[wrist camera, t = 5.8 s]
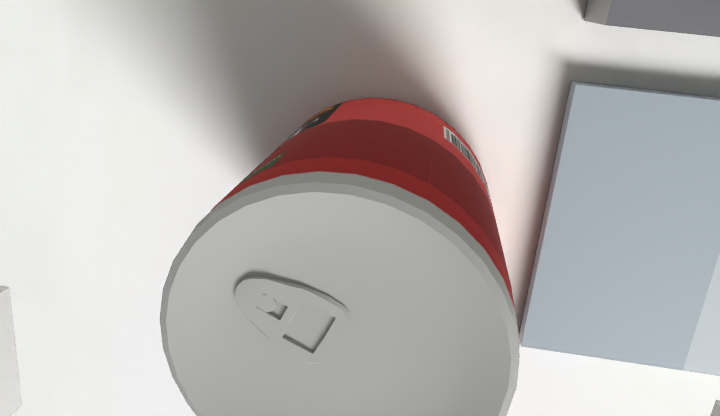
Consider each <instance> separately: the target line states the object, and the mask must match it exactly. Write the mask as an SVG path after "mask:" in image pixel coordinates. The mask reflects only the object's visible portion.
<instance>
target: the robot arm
mask: <svg viewBox="0 0 720 416" xmlns="http://www.w3.org/2000/svg"><path fill="white" fill-rule="evenodd" d="M20 406H22V401H21V392H20V383H19V373H18V364H17V354H16V345H15V336H14V326H13V317H12V308H11V298H10V289H9V287H6V286H0V416H11V415H12V414H13V413H14V412H15V411H16V410H17V409H18V408H19V407H20ZM711 416H720V401H719V400H716V402H715V404H714V407H713V410H712V413H711Z"/></svg>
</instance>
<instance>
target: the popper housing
mask: <svg viewBox="0 0 720 416" xmlns="http://www.w3.org/2000/svg"><path fill="white" fill-rule="evenodd" d="M584 21H589V22H594V23H598V24H603V25H610V26H619V27H629V28H639V29H648V30H658V31H668V32H678V33H687V34H697V35H707V36H716V37H720V0H588V3H587V8H586V13H585V18H584Z"/></svg>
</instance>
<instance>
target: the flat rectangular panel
mask: <svg viewBox="0 0 720 416" xmlns="http://www.w3.org/2000/svg"><path fill="white" fill-rule="evenodd" d="M519 339H520V343H521V346H523V347H529V348H536V349H543V350H550V351H556V352H563V353H570V354H576V355H583V356H590V357H597V358H603V359H610V360H617V361H623V362H630V363H637V364H644V365H650V366H657V367H664V368H670V369H677V370H684V371H690V372H697V373H704V374H711V375H717V376H720V98H718V97H709V96H700V95H691V94H682V93H673V92H664V91H655V90H646V89H637V88H628V87H619V86H610V85H601V84H592V83H583V82H574V81H571V85H570V90H569V95H568V100H567V105H566V109H565V114H564V119H563V124H562V129H561V134H560V138H559V143H558V148H557V153H556V158H555V163H554V168H553V172H552V177H551V182H550V187H549V192H548V197H547V201H546V206H545V211H544V216H543V221H542V226H541V230H540V235H539V240H538V245H537V250H536V255H535V259H534V264H533V269H532V274H531V279H530V284H529V289H528V293H527V298H526V303H525V308H524V313H523V318H522V322H521V327H520V332H519Z"/></svg>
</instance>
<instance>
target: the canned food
mask: <svg viewBox="0 0 720 416" xmlns="http://www.w3.org/2000/svg"><path fill="white" fill-rule="evenodd" d="M160 324H161V333H162V342H163V349H164V352H165V355H166V358H167V361H168V364H169V367H170V370H171V373H172V376H173V378H174V380H175V382H176V384H177V386H178V387H179V389H180V391H181V393H182V395H183V396H184V398H185V400H186V402H187V404H188V405H189V406H190V407H191V409H192V410H193V411H194V412H195V414H196V415H197V416H506V415H507V412H508V409H509V406H510V404H511V401H512V398H513V395H514V392H515V390H516V386H517V376H518V366H519V357H520V356H519V344H520V341H519V333H518V326H517V318H516V311H515V306H514V302H513V296H512V288H511V284H510V280H509V275H508V271H507V267H506V263H505V258H504V254H503V250H502V246H501V241H500V237H499V233H498V229H497V225H496V220H495V216H494V212H493V208H492V203H491V199H490V195H489V191H488V186H487V182H486V180H485V177H484V174H483V171H482V169H481V166H480V163H479V161H478V160H477V158H476V156H475V155H474V153H473V152H472V150H471V148H470V147H469V145H468V144H467V143H466V142H465V140H464V139H463V138H462V137H461V136H460V135H459V134H458V133H457V132H456V131H455V130H454V129H453V128H452V127H451V126H449V125H448V124H447V123H445V122H444V121H443V120H441V119H440V118H439V117H437V116H436V115H434V114H432V113H430V112H428V111H426V110H424V109H422V108H419V107H417V106H415V105H412V104H408V103H404V102H401V101H397V100H393V99H379V98H366V99H358V100H350V101H346V102H343V103H340V104H337V105H335V106H332V107H329V108H327V109H325V110H323V111H322V112H320V113H318V114H317V115H315V116H313V117H312V118H310V119H309V120H308V121H307V122H306V123H305V124H304V125H303V126H301V127H300V128H299V129H298V130H297V131H296V132H295V133H294V134H293V135H292V136H291V137H289V138H288V139H287V140H286V141H285V142H284V143H283V144H282V145H281V146H280V147H279V148H277V149H276V150H275V151H274V152H273V153H272V154H271V155H270V156H269V157H268V158H267V159H265V160H264V161H263V162H262V163H261V164H260V165H259V166H258V167H257V168H256V169H255V170H253V171H252V172H251V173H250V174H249V175H248V176H247V177H246V178H245V179H244V180H243V181H242V182H240V183H239V184H238V185H237V186H236V187H235V188H234V189H233V190H232V191H231V192H230V193H229V194H227V195H226V196H225V197H224V198H223V199H222V200H221V201H220V202H219V203H218V204H217V205H216V206H215V207H214V208H213V209H212V210H211V212H210V213H209V214H208V215H207V216H205V217H204V218H203V219H202V220H201V221H200V222H199V223H198V224H197V226H196V227H195V229H194V230H193V232H192V233H191V235H190V236H189V238H188V239H187V241H186V242H185V244H184V245H183V247H182V248H181V250H180V251H179V253H178V254H177V256H176V257H175V259H174V260H173V263H172V266H171V268H170V271H169V274H168V277H167V280H166V282H165V285H164V288H163V294H162V303H161V312H160Z"/></svg>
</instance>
